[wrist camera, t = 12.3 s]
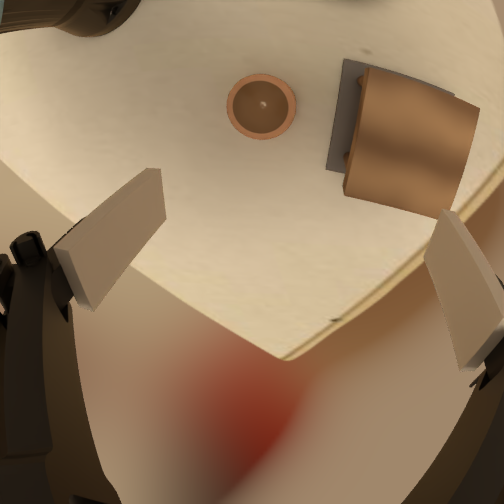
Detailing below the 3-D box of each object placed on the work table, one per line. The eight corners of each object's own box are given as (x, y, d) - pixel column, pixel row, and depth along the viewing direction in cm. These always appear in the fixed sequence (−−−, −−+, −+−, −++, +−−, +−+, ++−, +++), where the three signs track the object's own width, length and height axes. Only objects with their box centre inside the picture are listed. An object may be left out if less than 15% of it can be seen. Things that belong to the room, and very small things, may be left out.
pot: (240, 71, 30) (228, 71, 26) (302, 78, 29) (299, 78, 25) (236, 127, 34) (224, 135, 30) (294, 135, 33) (290, 144, 29)
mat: (343, 58, 26) (344, 58, 26) (452, 93, 24) (454, 94, 24) (325, 168, 34) (325, 169, 34) (426, 193, 33) (427, 195, 32)
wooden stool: (355, 69, 26) (369, 67, 18) (442, 97, 25) (480, 108, 17) (338, 164, 33) (344, 195, 25) (419, 185, 32) (445, 221, 24)
